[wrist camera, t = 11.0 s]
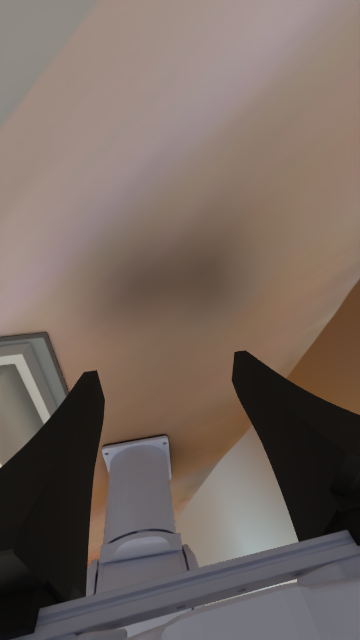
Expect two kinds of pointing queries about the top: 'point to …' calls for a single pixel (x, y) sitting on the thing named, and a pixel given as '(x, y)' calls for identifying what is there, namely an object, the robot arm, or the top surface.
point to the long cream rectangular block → (15, 413)
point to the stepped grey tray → (36, 370)
